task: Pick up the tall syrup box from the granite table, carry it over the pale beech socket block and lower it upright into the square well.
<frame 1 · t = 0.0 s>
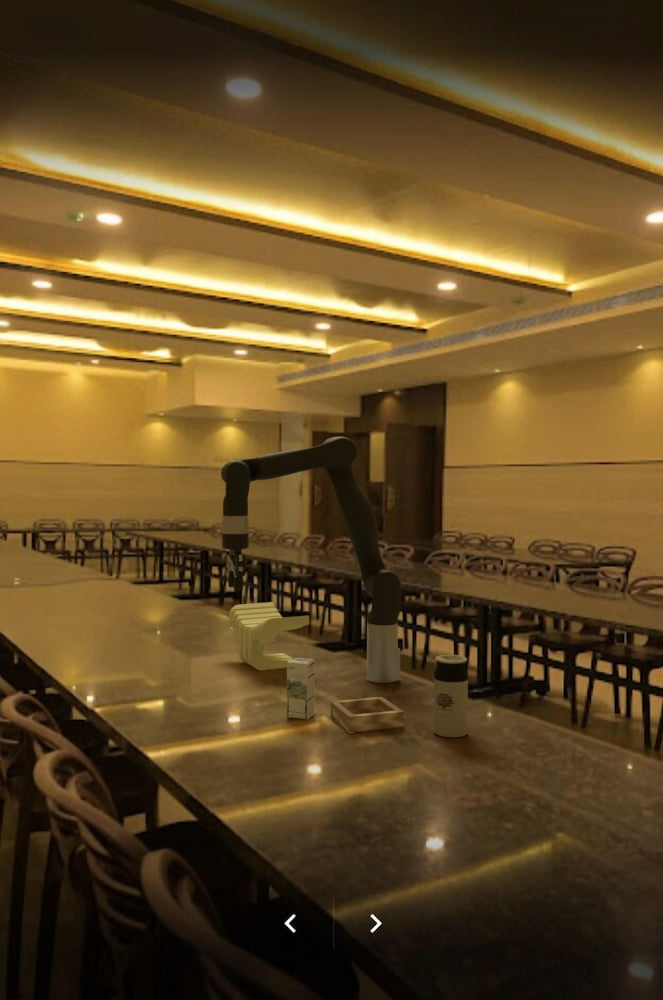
hand: (235, 589, 225), 29 cm above the table, tool pointing down, fingers open, 8 cm apart
socket block: (366, 722, 198), on the table
travel mug: (450, 734, 190), on the table
slatted curved stool: (267, 665, 259), on the table
syrup box: (300, 717, 202), on the table
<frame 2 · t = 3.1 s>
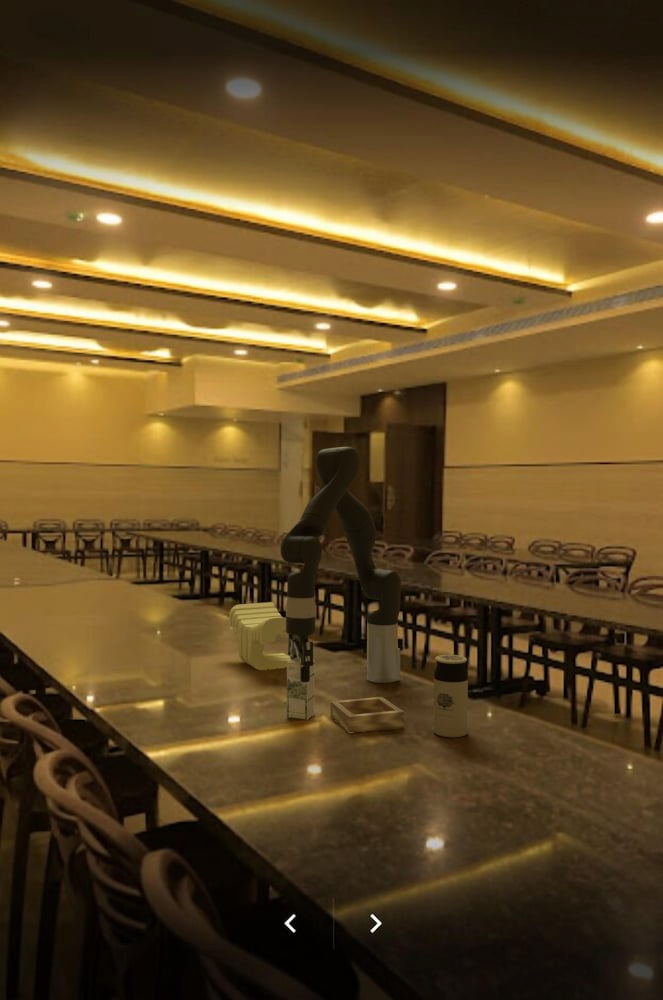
hand: (300, 678, 202), 10 cm above the table, tool pointing down
syrup box: (300, 717, 202), on the table, touching gripper
everything else where it was.
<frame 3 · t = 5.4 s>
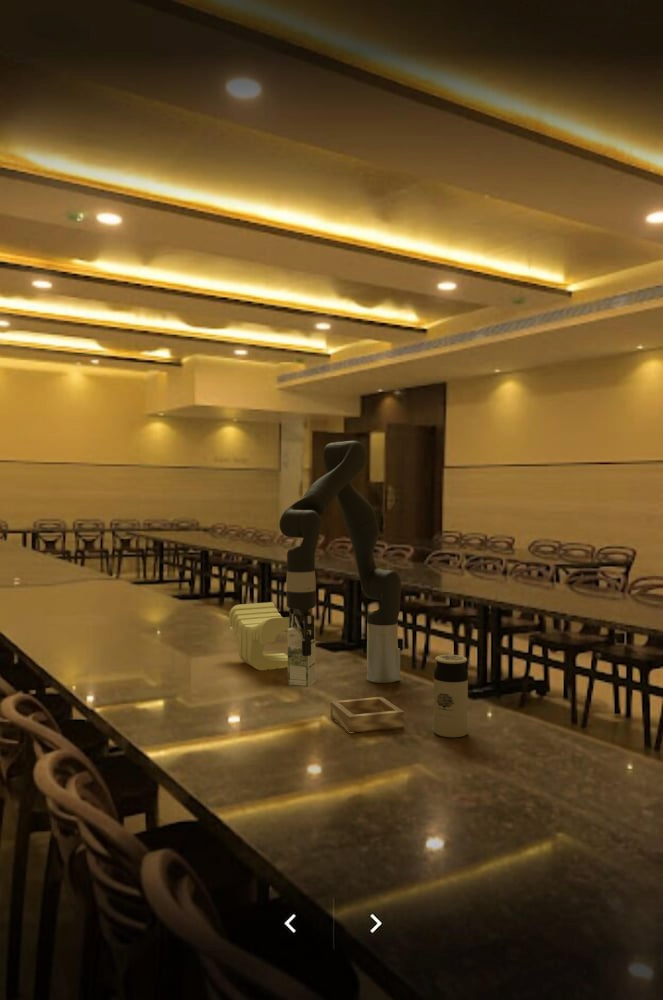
hand: (301, 652, 202), 16 cm above the table, tool pointing down, fingers closed on syrup box, 8 cm apart
syrup box: (301, 684, 203), point 8 cm above the table, touching gripper
everything else where it was.
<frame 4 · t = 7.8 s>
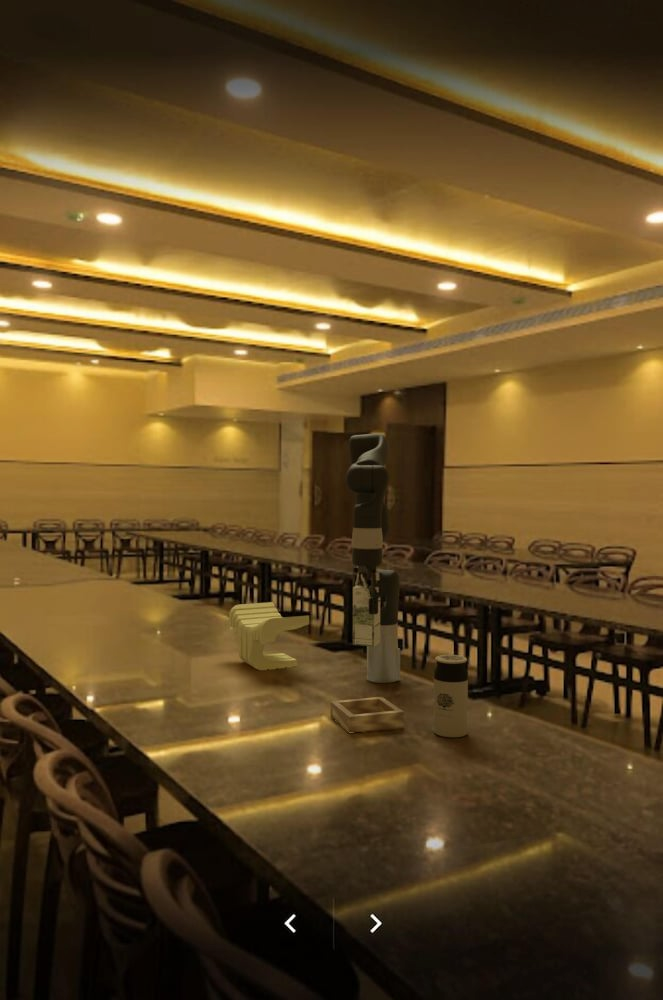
hand: (366, 611, 197), 28 cm above the table, tool pointing down, fingers closed on syrup box, 8 cm apart
syrup box: (366, 644, 197), point 19 cm above the table, touching gripper
everything else where it was.
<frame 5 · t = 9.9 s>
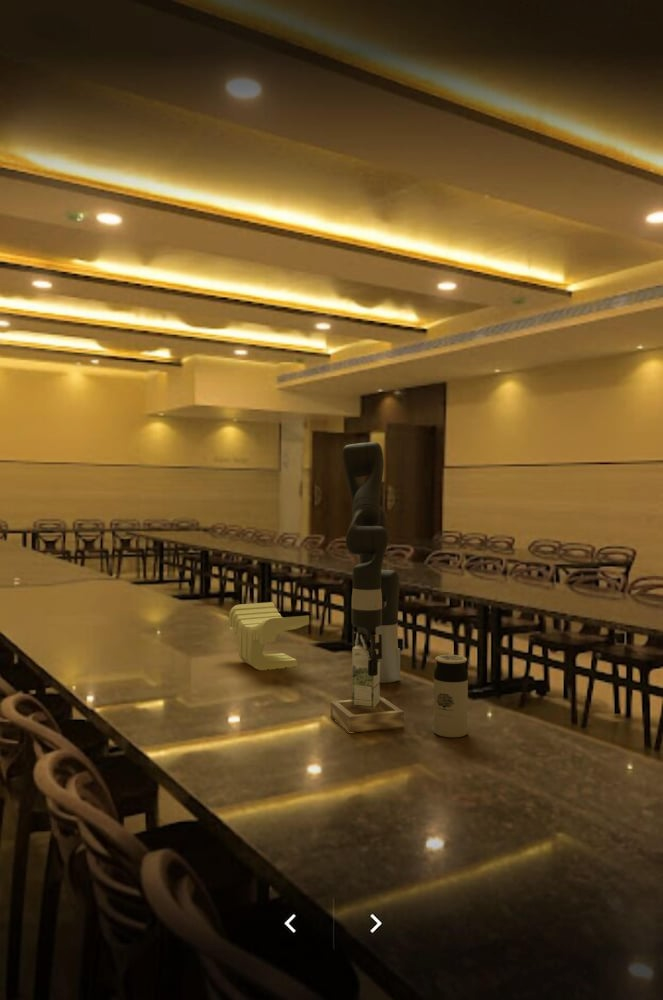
hand: (366, 671, 197), 13 cm above the table, tool pointing down, fingers closed on syrup box, 8 cm apart
syrup box: (365, 704, 198), point 4 cm above the table, touching gripper
everything else where it was.
when the fingers open (10 cm above the table, at t = 11.5 s): syrup box drops 2 cm, resting on socket block.
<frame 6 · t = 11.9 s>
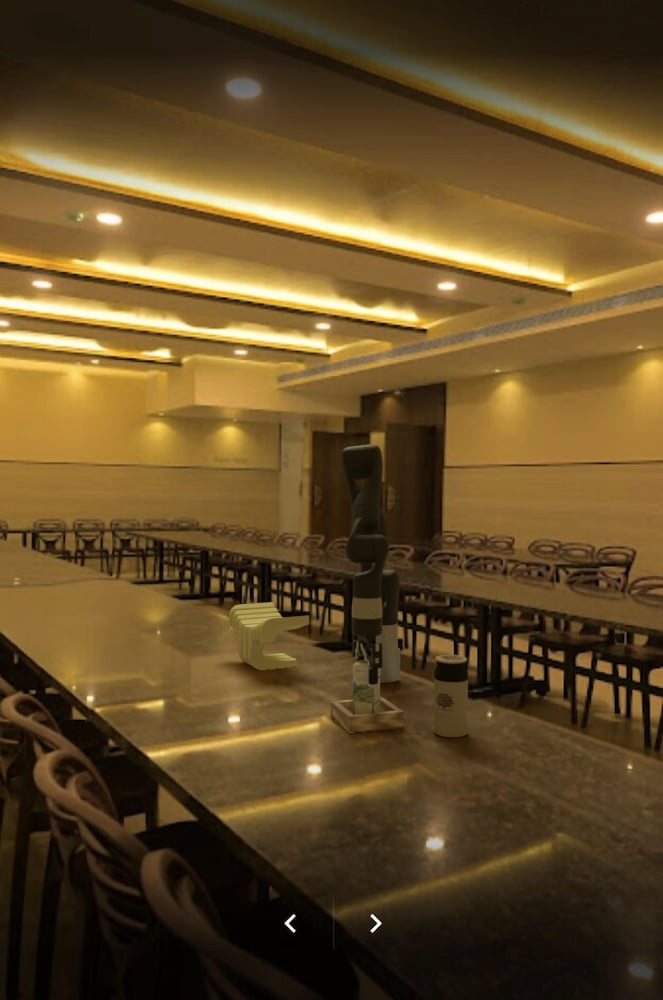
hand: (366, 680, 197), 11 cm above the table, tool pointing down, fingers open, 8 cm apart
syrup box: (366, 721, 198), resting on socket block, touching gripper
everything else where it was.
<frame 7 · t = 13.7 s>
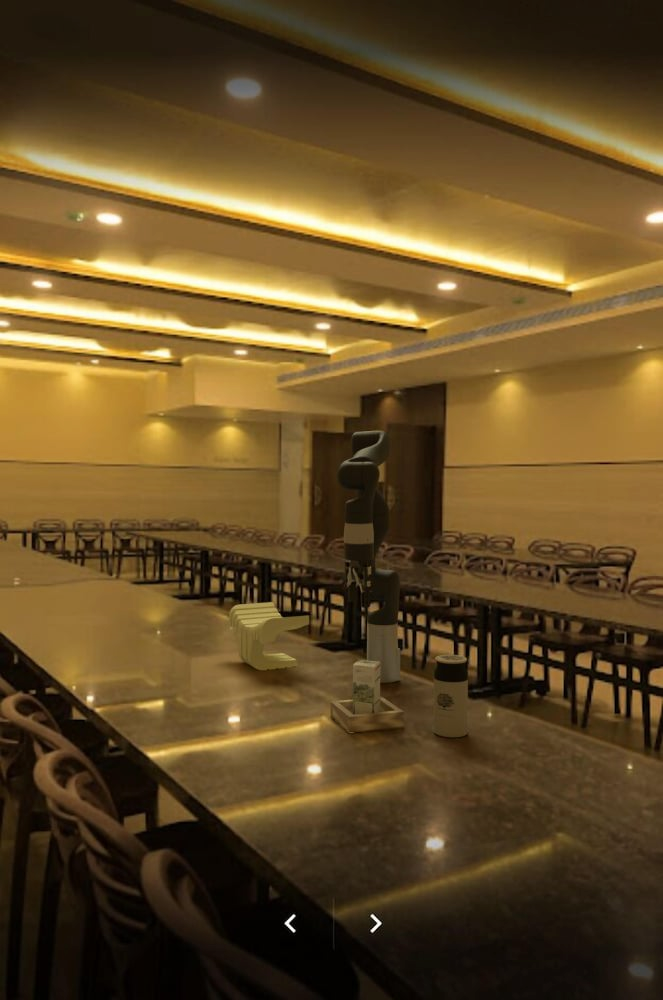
hand: (359, 604, 202), 29 cm above the table, tool pointing down, fingers open, 8 cm apart
syrup box: (366, 721, 198), resting on socket block
everything else where it was.
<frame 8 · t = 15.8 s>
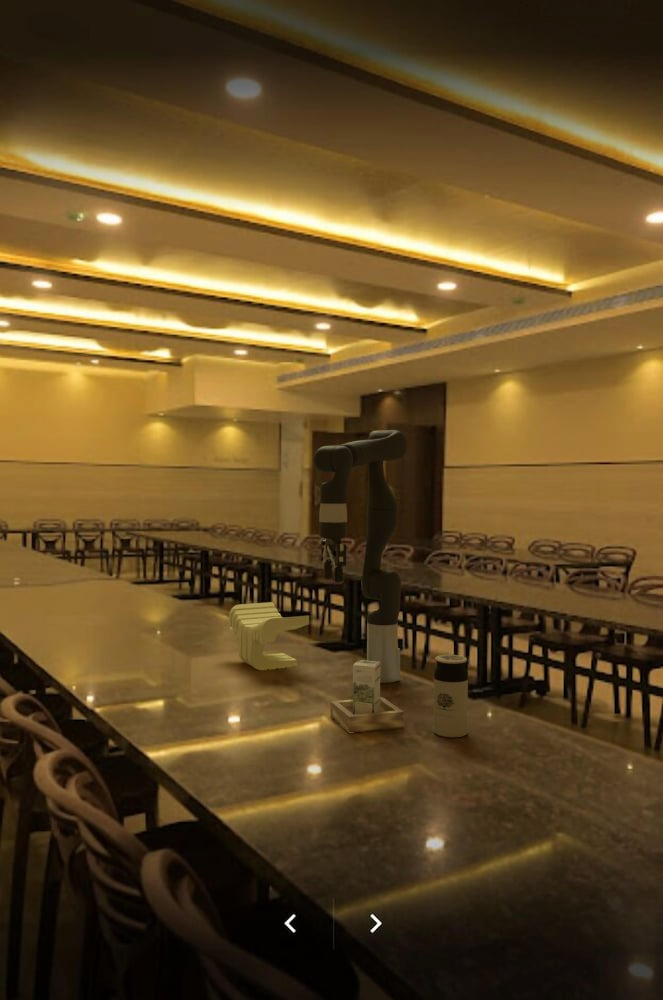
hand: (333, 580, 215), 33 cm above the table, tool pointing down, fingers open, 8 cm apart
nothing on the table moved.
at the end: syrup box inside the target area on the socket block (0.1 cm from its centre), point 0.3 cm above the socket block's base; syrup box tilted 0°; the gripper is holding nothing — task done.
